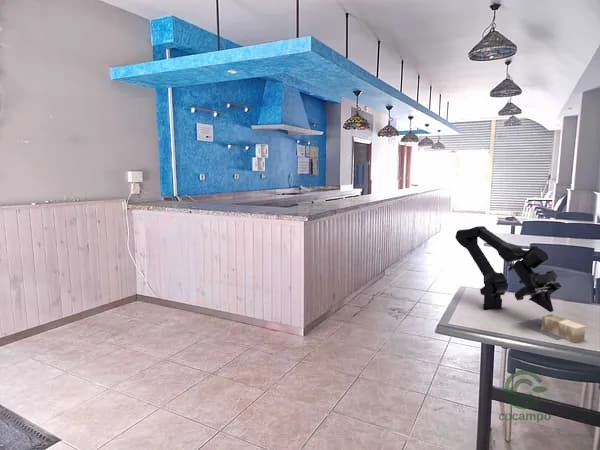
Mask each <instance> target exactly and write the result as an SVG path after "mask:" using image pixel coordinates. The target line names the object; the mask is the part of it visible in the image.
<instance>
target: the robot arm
mask: <svg viewBox="0 0 600 450" xmlns="http://www.w3.org/2000/svg"><path fill="white" fill-rule="evenodd" d="M478 238H479V239H481V240H482V241H483V242H484V243H486V244H488V245H489V246H490V247H491V248H492V249H494V250H496V252H497V253H498V255H499V257H500V258H501V259H502V260H503V261H505V262H507V263H509V267H508V272H513V271H514V272H515V274H516V275H517V276H518V278H519V281H518V282H519V284H521V285H522V284H523V287H521V288H520V289H518V290H517V291H515V293H514V298H515V299H516V301H522V300H524V298H525V297H526V296H530V297H529V298H528V301H532V302H533V303H535V304H537V305H538V306H539V307H542V308H543V309H544V310H546V311H547V312H549V313H553V312H554V307H553V303H552V299H551V295H552V294H554V293H555V292H557V291H558V290H561V289H562V288H563V287H562V285H561V284H560V282H557V278H558V274H557V273H556V272H555V271H554V270H547V271H546V273H545V274H540V273H539V272H535V270H534V269H537V268H539V267H540V266H542V265H543V264H544V263H546V261H548V260H549V256H548V253H547V252H546V251H544V250H543V249H541V248H538V246H537V245H533V246H531V247H530V248H529V249H528V250H524V249H523V248H522V247H521V246H519V245H517V244H514V243H510V242H507V241H505V240H503V239H502V238H501V237H499V236H497V235H496V234H495V233H493V232H492V231H490V230H489V229H487V227H486V226H483V225H480V226H479V225H478V226H474V227H472V228H471V227H470V228H467V229H466V228H465V229H459V230H457V231H456V233H455V240H456V241H457V242H458V244H459V245H460V246H462V247H463V248H465V249H466V251H468V253H469V255H470V257H471V258H472V259H473V262H474V263H475V265H476V267H478V269H479V271H480V273H481V275H482V276H483V284H484V286H482V287H481V288H480V289H479V291H480V295H481V296H483V304H482V308H483V309H482V310H484V311H489V310H502V308H503V298H502V297H501V296H505V294H506V292H507V291H508V289H509V283H508V279H506V277H505V275H504V274H503V272H497V271H495V269H494V268H493V266H492V265H491V262H490V261H489V260H488V258H487V257H486V255H485V253H484V252H483V250H482V249H481V247H480V246H479V243H478V240H479V239H478ZM510 262H511V263H510ZM512 262H514V263H512Z"/></svg>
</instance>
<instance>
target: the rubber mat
mask: <svg viewBox="0 0 600 450" xmlns="http://www.w3.org/2000/svg"><path fill="white" fill-rule="evenodd" d="M516 324H517V325H519V326H521V327H524V328H527V329H529V330H532V331H534V332H537V333H539V334H541V335H543V336H546V337H549V338H551V339H553V340H556V341H559V340H564V338H562V337H559V336H557V335H554V334H552V333H549V332H547V331H544V330H542V329H541V328H542V319H540V318H536V319H531V320H526V321H522V322H518V323H517V322H516Z"/></svg>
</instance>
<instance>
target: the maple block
mask: <svg viewBox="0 0 600 450" xmlns="http://www.w3.org/2000/svg"><path fill="white" fill-rule="evenodd" d="M541 320H542V328H541V329H542V330H544V331H547V332H549V333H552V334H554V335H557V336H559V337H562V338H564V339H565V340H568V341H570V342H572V343H578V342H582V341H585V334H586V326H585V325H583V324H580V323H578V322H574V321H573V320H572V321H571V320H568V319H566V318H563V317H561V316H557V315H554V314H547V315H542V319H541ZM564 339H563V340H564Z"/></svg>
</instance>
